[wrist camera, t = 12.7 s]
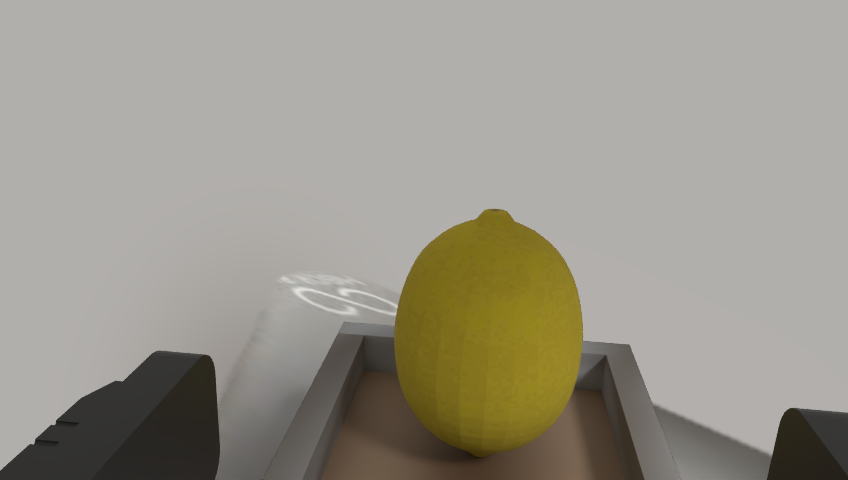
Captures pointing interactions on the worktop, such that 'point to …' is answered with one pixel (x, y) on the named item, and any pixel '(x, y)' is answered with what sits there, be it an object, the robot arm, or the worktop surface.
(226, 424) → the worktop surface
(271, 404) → the worktop surface
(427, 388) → the lemon
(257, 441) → the worktop surface
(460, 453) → the square wooden box
